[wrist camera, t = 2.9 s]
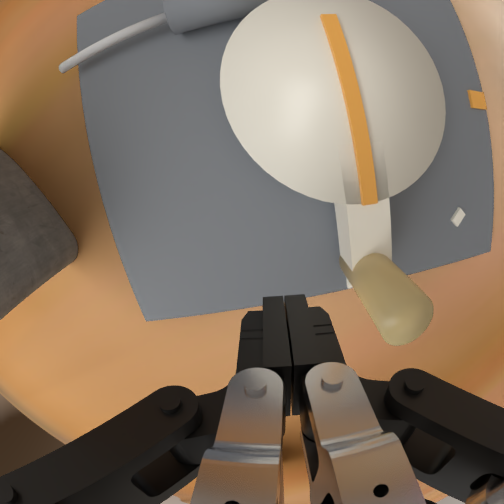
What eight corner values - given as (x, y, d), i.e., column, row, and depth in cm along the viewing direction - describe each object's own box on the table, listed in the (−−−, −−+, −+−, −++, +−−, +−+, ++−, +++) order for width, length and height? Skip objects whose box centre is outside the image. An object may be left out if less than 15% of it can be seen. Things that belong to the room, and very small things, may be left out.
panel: (482, 246, 18) (492, 252, 16) (151, 313, 21) (144, 323, 19) (429, -21, 9) (437, -27, 8) (84, 20, 12) (75, 14, 11)
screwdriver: (265, -30, 9) (275, -17, 9) (269, 2, 12) (279, 20, 11) (57, 46, 10) (45, 69, 10) (76, 67, 13) (67, 92, 13)
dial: (208, 23, 11) (178, -43, 5) (395, 13, 10) (449, -31, 4) (268, 294, 17) (272, 374, 11) (434, 258, 16) (494, 308, 10)
